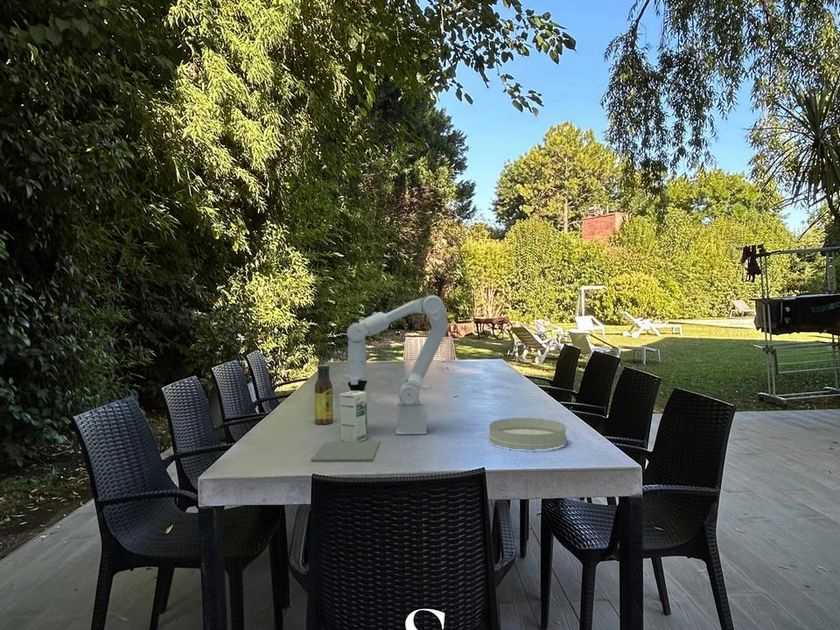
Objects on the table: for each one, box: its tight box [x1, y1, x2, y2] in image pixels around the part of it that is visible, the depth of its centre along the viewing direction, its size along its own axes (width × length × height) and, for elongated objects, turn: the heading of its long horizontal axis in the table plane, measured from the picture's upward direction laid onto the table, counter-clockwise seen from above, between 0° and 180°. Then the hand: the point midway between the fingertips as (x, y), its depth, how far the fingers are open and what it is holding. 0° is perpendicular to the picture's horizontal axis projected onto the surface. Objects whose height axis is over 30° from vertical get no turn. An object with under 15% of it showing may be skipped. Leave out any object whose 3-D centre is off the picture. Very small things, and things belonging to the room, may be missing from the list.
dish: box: [488, 417, 567, 450], centre depth 159 cm, size 22×22×5 cm
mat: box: [310, 440, 381, 463], centre depth 151 cm, size 16×18×1 cm
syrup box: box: [339, 390, 369, 442], centre depth 163 cm, size 6×6×14 cm
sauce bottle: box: [314, 364, 334, 425], centre depth 188 cm, size 6×6×20 cm
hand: (358, 404), depth 172 cm, fingers closed
